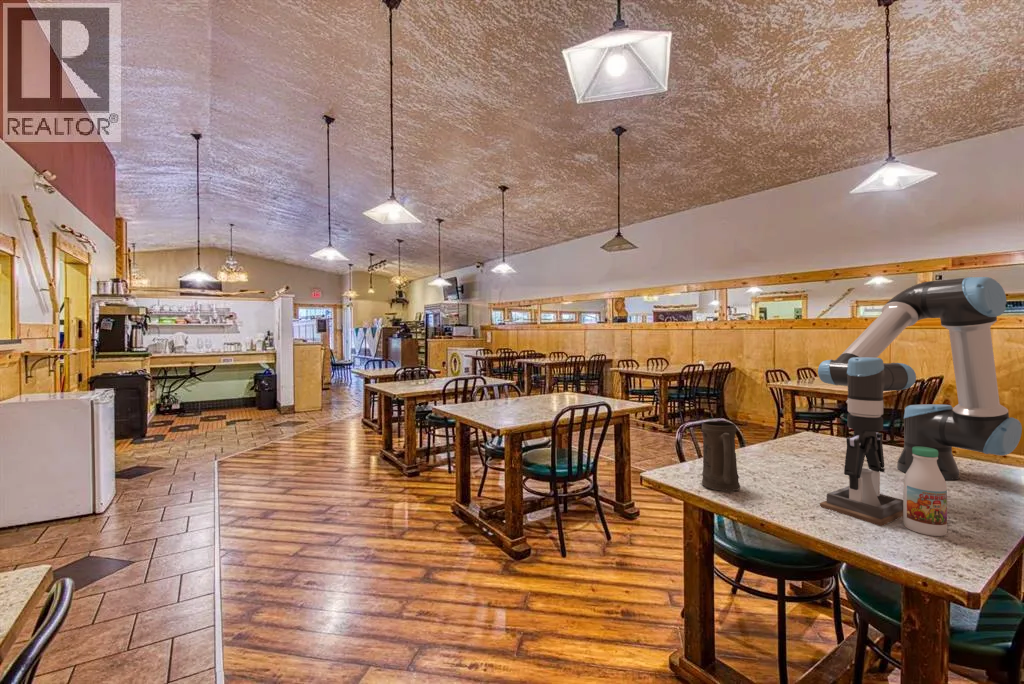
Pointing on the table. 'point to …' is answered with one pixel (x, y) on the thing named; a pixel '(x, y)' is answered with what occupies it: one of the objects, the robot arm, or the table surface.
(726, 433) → the beer stein
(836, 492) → the rectangular tray
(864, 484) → the flask
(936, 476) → the milk bottle
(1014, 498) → the table surface
